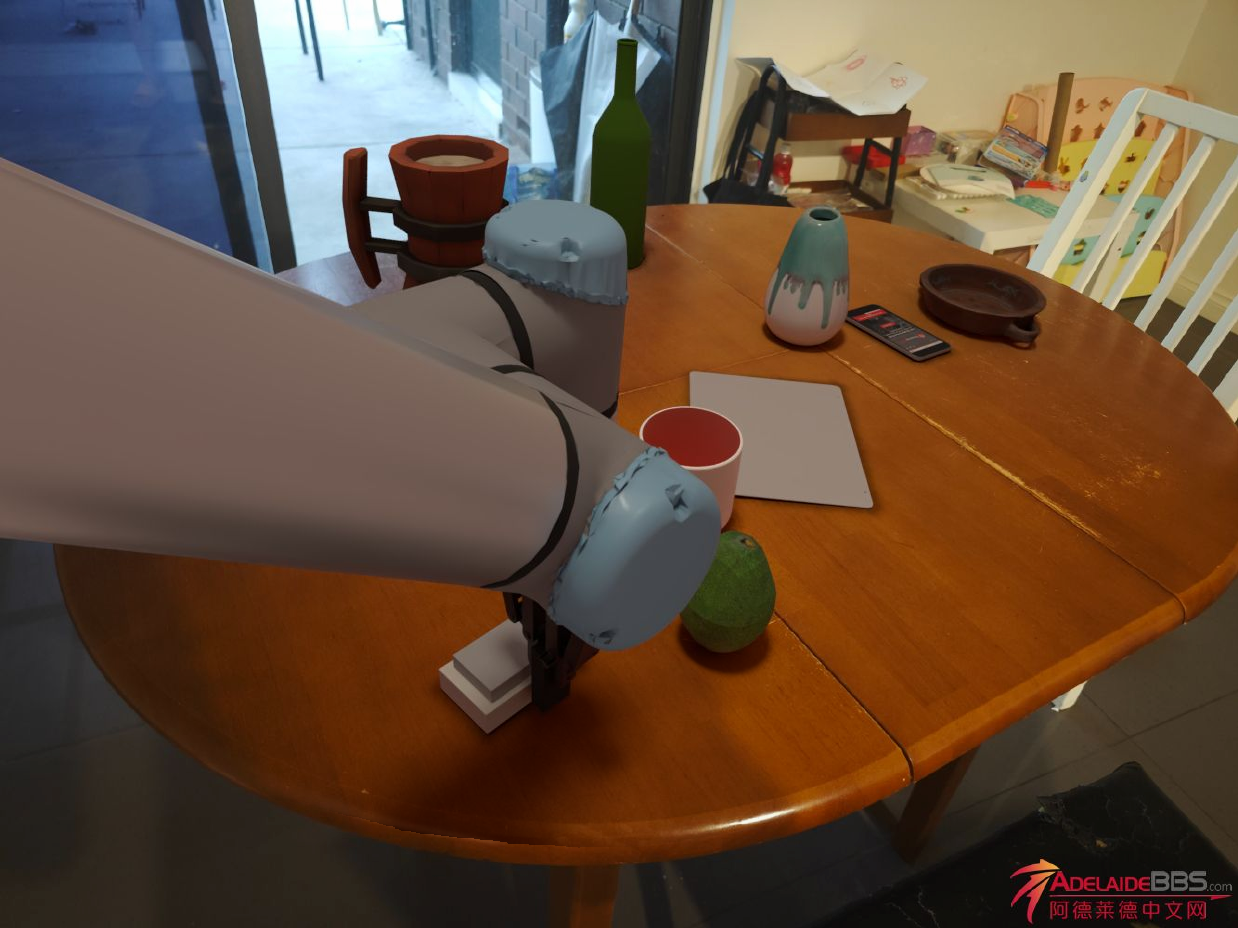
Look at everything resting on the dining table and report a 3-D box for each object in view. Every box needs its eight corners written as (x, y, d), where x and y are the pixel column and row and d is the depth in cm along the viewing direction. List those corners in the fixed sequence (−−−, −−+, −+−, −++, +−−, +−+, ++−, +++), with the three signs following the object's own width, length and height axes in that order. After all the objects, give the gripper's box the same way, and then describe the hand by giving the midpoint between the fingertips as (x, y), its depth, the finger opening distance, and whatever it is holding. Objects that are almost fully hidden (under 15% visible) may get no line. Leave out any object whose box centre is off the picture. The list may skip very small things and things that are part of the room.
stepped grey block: (487, 734, 66) (485, 703, 63) (440, 688, 69) (437, 657, 67) (581, 664, 72) (582, 634, 69) (533, 625, 75) (534, 594, 73)
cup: (702, 561, 83) (713, 483, 76) (615, 521, 87) (619, 443, 80) (746, 504, 89) (760, 428, 83) (664, 469, 93) (671, 394, 87)
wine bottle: (608, 243, 144) (619, 31, 125) (653, 258, 140) (671, 41, 121) (576, 259, 138) (582, 39, 119) (621, 275, 134) (636, 50, 115)
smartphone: (875, 302, 129) (954, 346, 120) (873, 307, 130) (952, 350, 120) (840, 313, 126) (919, 358, 116) (839, 317, 126) (917, 362, 117)
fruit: (717, 591, 80) (735, 491, 72) (782, 642, 75) (809, 541, 68) (654, 631, 75) (667, 529, 68) (720, 688, 71) (741, 585, 63)
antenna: (658, 372, 111) (659, 364, 110) (838, 390, 111) (840, 382, 110) (654, 491, 91) (655, 482, 90) (872, 513, 91) (875, 504, 90)
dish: (957, 278, 141) (966, 249, 138) (1072, 337, 126) (1085, 306, 123) (880, 296, 133) (888, 266, 130) (991, 362, 118) (1003, 330, 115)
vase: (794, 362, 115) (820, 234, 104) (742, 325, 123) (762, 203, 112) (857, 344, 120) (889, 221, 110) (804, 310, 128) (828, 192, 117)
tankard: (519, 389, 106) (516, 193, 91) (327, 363, 108) (294, 168, 93) (557, 311, 123) (560, 135, 108) (391, 290, 125) (371, 115, 111)
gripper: (672, 482, 52) (643, 722, 66) (531, 394, 59) (532, 628, 73) (582, 537, 47) (572, 782, 61) (441, 434, 54) (461, 676, 68)
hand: (550, 698), depth 67 cm, fingers closed
